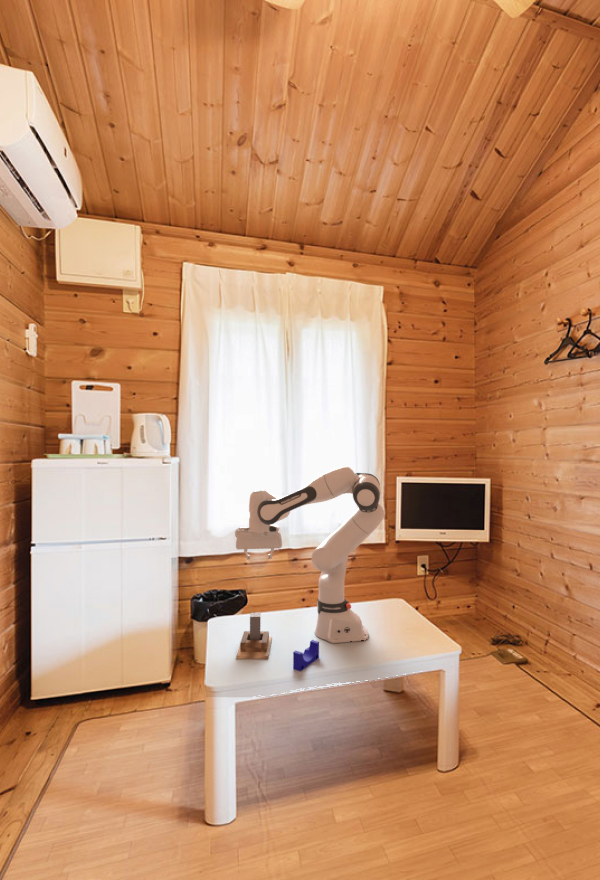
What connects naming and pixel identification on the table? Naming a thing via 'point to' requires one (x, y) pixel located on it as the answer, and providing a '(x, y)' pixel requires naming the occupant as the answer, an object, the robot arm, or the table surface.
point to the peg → (255, 626)
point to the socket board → (254, 654)
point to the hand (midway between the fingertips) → (259, 558)
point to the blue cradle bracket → (306, 656)
